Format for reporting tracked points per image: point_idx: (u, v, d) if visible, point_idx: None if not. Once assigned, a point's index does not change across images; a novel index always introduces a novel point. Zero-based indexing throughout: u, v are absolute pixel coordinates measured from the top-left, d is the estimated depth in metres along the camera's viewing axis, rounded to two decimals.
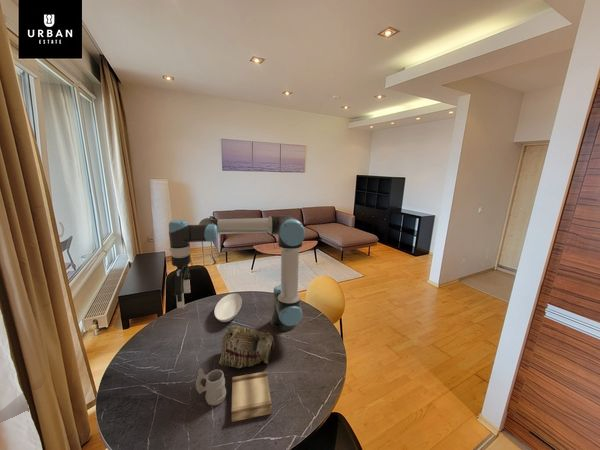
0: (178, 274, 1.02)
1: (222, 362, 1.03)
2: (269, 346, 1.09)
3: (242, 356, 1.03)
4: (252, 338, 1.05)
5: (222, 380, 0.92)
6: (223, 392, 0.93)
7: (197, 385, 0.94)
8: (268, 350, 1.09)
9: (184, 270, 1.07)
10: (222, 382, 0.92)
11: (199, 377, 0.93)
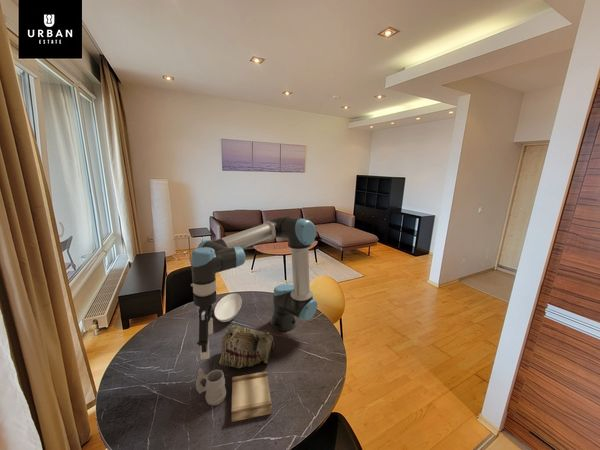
0: (203, 318, 0.81)
1: (222, 362, 1.03)
2: (269, 346, 1.09)
3: (242, 356, 1.03)
4: (252, 338, 1.05)
5: (222, 380, 0.92)
6: (223, 392, 0.93)
7: (197, 385, 0.94)
8: (268, 350, 1.09)
9: (209, 310, 0.85)
10: (222, 382, 0.92)
11: (199, 377, 0.93)
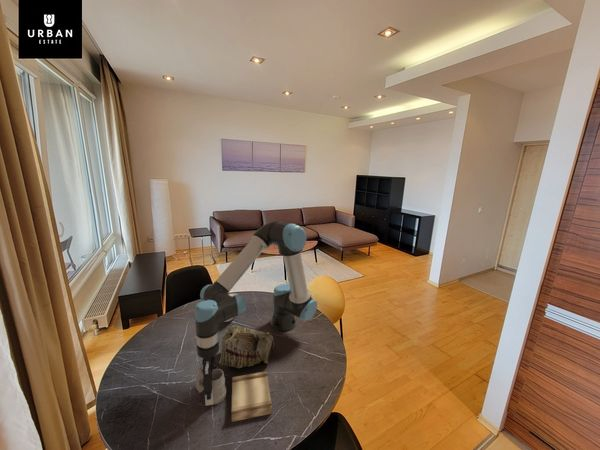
0: (207, 373, 0.85)
1: (222, 362, 1.03)
2: (269, 346, 1.09)
3: (242, 356, 1.03)
4: (252, 338, 1.05)
5: (222, 379, 0.93)
6: (223, 391, 0.94)
7: (197, 384, 0.94)
8: (269, 350, 1.09)
9: (212, 361, 0.90)
10: (222, 381, 0.93)
11: (199, 376, 0.93)
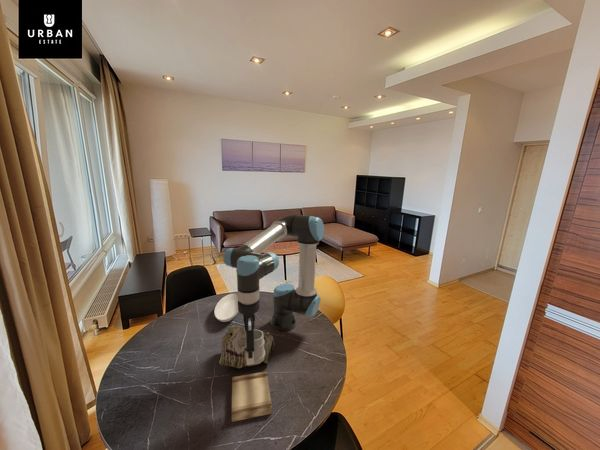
0: (250, 329, 0.81)
1: (222, 362, 1.03)
2: (269, 346, 1.09)
3: (242, 356, 1.03)
4: None
5: (262, 339, 0.89)
6: (263, 352, 0.90)
7: (236, 345, 0.90)
8: (268, 350, 1.09)
9: (253, 319, 0.86)
10: (262, 341, 0.89)
11: (238, 336, 0.90)
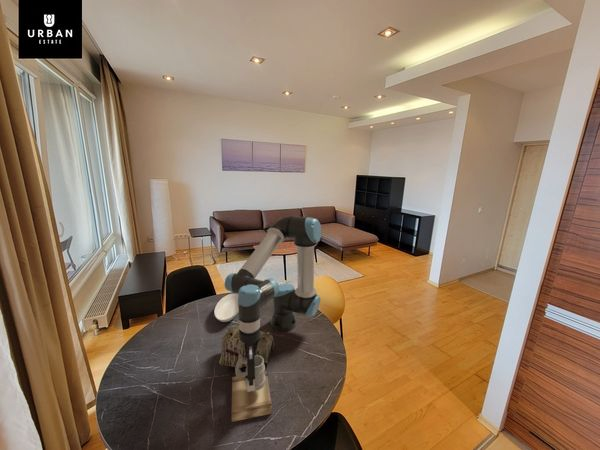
0: (251, 358, 0.84)
1: (222, 362, 1.03)
2: (269, 346, 1.09)
3: None
4: None
5: (263, 365, 0.91)
6: (263, 377, 0.92)
7: (237, 371, 0.93)
8: (269, 350, 1.09)
9: (254, 346, 0.88)
10: (263, 367, 0.91)
11: (239, 362, 0.92)
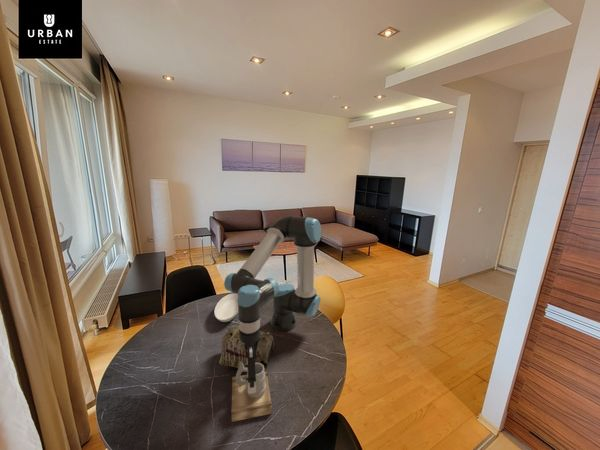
0: (251, 355, 0.83)
1: (222, 362, 1.03)
2: (269, 346, 1.09)
3: (242, 356, 1.03)
4: None
5: (263, 373, 0.92)
6: (264, 385, 0.93)
7: (237, 378, 0.94)
8: (269, 350, 1.09)
9: (254, 346, 0.88)
10: (263, 375, 0.92)
11: (240, 370, 0.93)
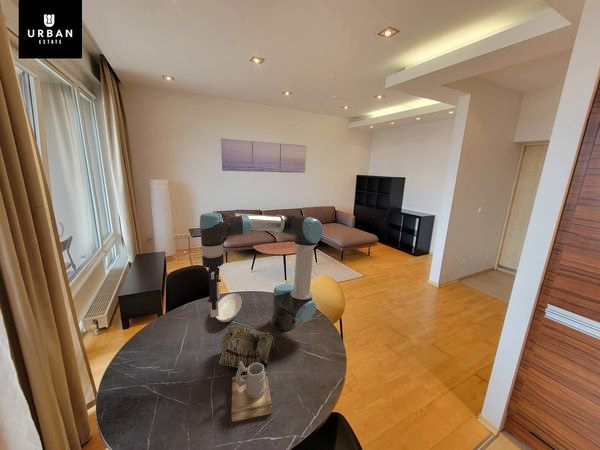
0: (213, 277, 0.86)
1: (222, 362, 1.03)
2: (269, 346, 1.09)
3: (242, 356, 1.03)
4: (252, 338, 1.05)
5: (263, 373, 0.92)
6: (264, 385, 0.93)
7: (237, 378, 0.94)
8: (269, 350, 1.09)
9: (217, 272, 0.91)
10: (263, 375, 0.92)
11: (240, 370, 0.93)
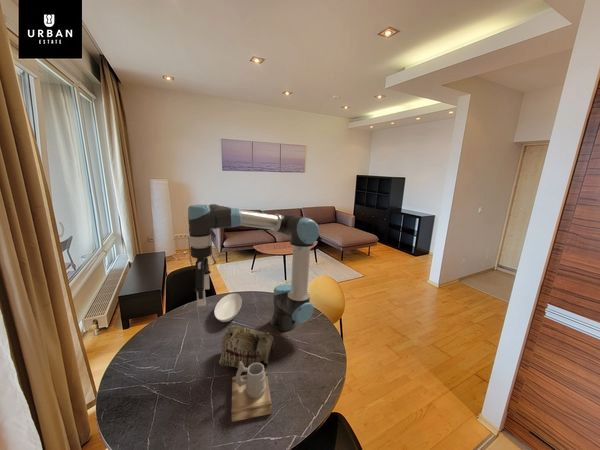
0: (199, 267, 0.88)
1: (222, 362, 1.03)
2: (269, 346, 1.09)
3: (242, 356, 1.03)
4: (252, 338, 1.05)
5: (263, 373, 0.92)
6: (264, 385, 0.93)
7: (237, 378, 0.94)
8: (269, 350, 1.09)
9: (205, 263, 0.93)
10: (263, 375, 0.92)
11: (240, 370, 0.93)
